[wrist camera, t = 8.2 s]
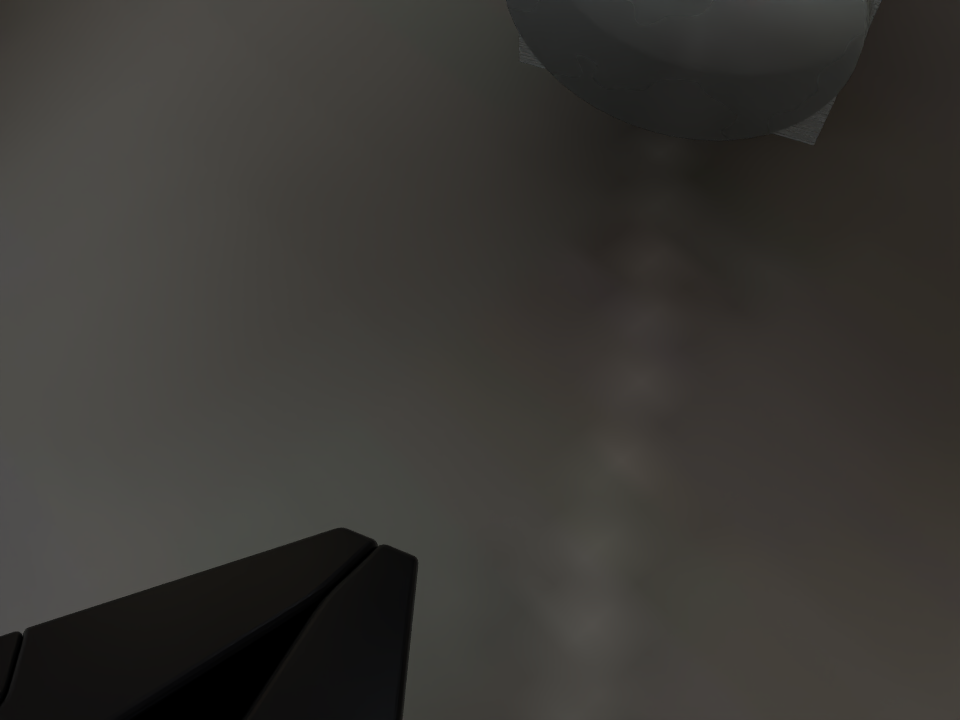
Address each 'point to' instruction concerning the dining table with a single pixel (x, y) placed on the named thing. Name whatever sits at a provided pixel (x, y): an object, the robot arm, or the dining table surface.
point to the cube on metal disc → (700, 60)
